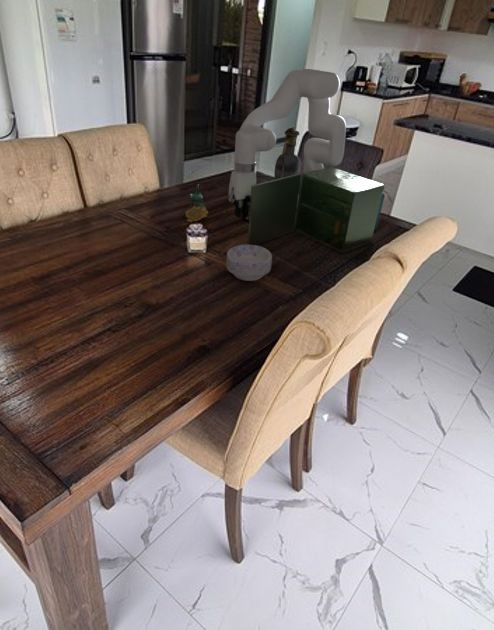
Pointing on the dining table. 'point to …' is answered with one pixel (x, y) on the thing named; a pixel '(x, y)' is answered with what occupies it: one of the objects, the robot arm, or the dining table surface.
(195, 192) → the frog figurine
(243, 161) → the robot arm
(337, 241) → the cupboard
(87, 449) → the dining table surface
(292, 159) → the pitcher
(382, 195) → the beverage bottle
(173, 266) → the dining table surface
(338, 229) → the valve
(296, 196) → the door
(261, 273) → the paper bowls
